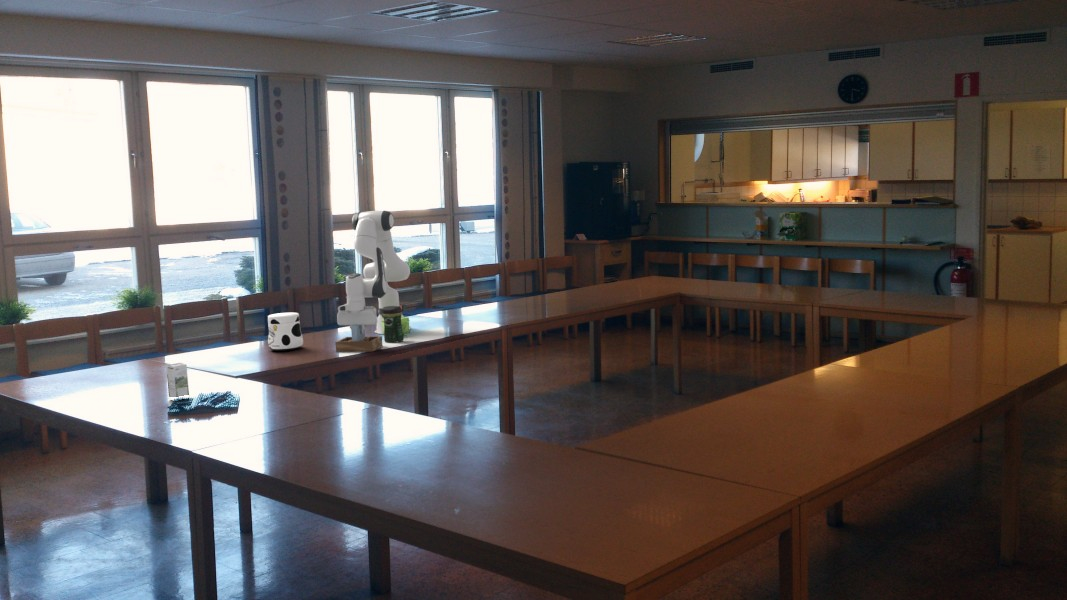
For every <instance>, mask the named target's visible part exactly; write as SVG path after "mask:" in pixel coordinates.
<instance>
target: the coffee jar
mask: <svg viewBox="0 0 1067 600" xmlns="http://www.w3.org/2000/svg"><path fill="white" fill-rule="evenodd" d="M400 306H401V305H399V306H387V307H383V312H382V313H383V314H382V315H383V318H384V334H383V335H384V336H383V338H384V340H383V341H384V342H385V343H401V342H403V341H404V340H405V339H404V338H405V336H403V331H402V324H401V315H403V312H402V309H401V307H400Z"/></svg>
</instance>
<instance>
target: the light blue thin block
mask: <svg viewBox="0 0 1067 600" xmlns="http://www.w3.org/2000/svg"><path fill="white" fill-rule="evenodd" d="M362 328H363V327H362V325H352V326H351V329H350V330H351V331H350V332H351V337H352V341H361V340H363V339H365V337H366V330H364V334H360V330H362Z"/></svg>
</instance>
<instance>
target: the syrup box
mask: <svg viewBox="0 0 1067 600" xmlns="http://www.w3.org/2000/svg"><path fill="white" fill-rule="evenodd" d="M165 367H166V369H165V370H166V380H167V391H168V398H169V397H179V396H184V395H189V396H190V391H189V390H190V389H189V379H188V367H187V364H186V363H184V362H177V363H171V364H167V365H166V366H165Z"/></svg>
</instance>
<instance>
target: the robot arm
mask: <svg viewBox="0 0 1067 600" xmlns="http://www.w3.org/2000/svg"><path fill="white" fill-rule="evenodd" d="M394 223H395V221H394V215H393V214H392V213H391V211H388V210H371V211H358V212H355V213H354V214H353V215H352V218H351V226H352V229H354V231H355V233H354V239H353V240H354V243H353V245H354V246H353V247H354V249H355V251H356V252H357V253H358V254H359V255H360V256H362V257H364V258H368V259H371V260H372V261H373V262H370V263H366V264H365V265H364V267H363V270H362V274H363V275H362V274H361V273H359V272H353V273H349V274H348V275H347V276H346V278H345V293H346V303H343V305H339V306H338V307H337V310H338V312H337V313H336V322H337V325H338V326H349V329H350V330H351V326H352V325H362V327H363V328H362V330H360V334H364V330H365V329H366V327H367V326H370V325H371V326H372V325H373V326H375V325H376V330H374V333H376V334H380V335H384V334H383V322H382V321H383V319H384V318H383V315H382V314H383V313H382V312H383V307H387V306H400V307H401V310H402V309H403V307H402V305H400V297H399V295H400V294H399V292H398V290H396V289H395V288H393V287H391V286H390V285H389V284H388V283H389V282H401V281H405V280H407V279H408V278H409V277H410V276H411V275H410V274H411V268H410V266H409V264H408V263H407V262H406V261H404V260H402V259H401V258H400V257H399V256H398V253H397V252H396V251H395V248H394V244H393V239H392V232H391V230H392V228H393V227H394V225H395V224H394ZM365 298H376V299H378V310H377V308H376V307H375V306H373V305H366V299H365ZM377 312H378V316H377ZM401 317H405V316H404V315H403V314H402V315H401ZM409 329H410V330H411V326H410V325H409ZM365 331H366V330H365Z"/></svg>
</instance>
